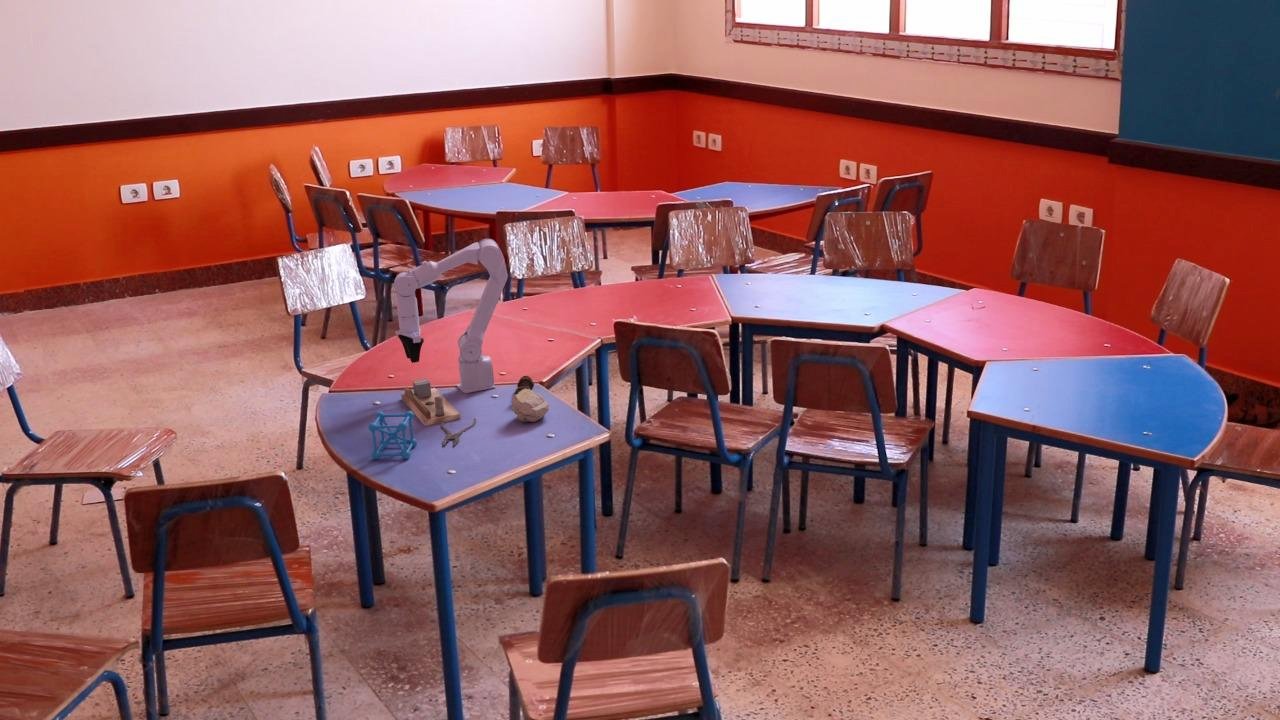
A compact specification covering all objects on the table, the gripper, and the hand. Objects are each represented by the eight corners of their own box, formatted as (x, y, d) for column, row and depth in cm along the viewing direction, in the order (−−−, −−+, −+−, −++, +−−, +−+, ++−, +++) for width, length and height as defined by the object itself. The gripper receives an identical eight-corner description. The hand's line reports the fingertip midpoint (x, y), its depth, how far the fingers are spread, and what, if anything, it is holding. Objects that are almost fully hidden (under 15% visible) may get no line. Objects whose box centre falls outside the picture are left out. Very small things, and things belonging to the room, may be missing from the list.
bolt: (530, 392, 360) (527, 409, 346) (514, 384, 360) (510, 401, 345) (538, 375, 359) (536, 391, 345) (523, 368, 358) (519, 384, 344)
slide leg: (427, 391, 353) (426, 378, 352) (431, 395, 350) (430, 382, 349) (413, 394, 352) (412, 380, 350) (417, 398, 348) (416, 384, 347)
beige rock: (550, 410, 341) (514, 415, 341) (545, 381, 339) (509, 387, 339) (551, 423, 330) (514, 428, 329) (546, 393, 327) (509, 399, 327)
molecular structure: (370, 461, 312) (366, 424, 309) (380, 445, 321) (376, 410, 318) (409, 460, 311) (405, 424, 308) (418, 445, 321) (414, 409, 318)
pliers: (475, 415, 338) (480, 442, 320) (476, 418, 338) (480, 445, 320) (440, 418, 337) (442, 446, 318) (440, 421, 337) (443, 449, 318)
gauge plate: (435, 392, 358) (433, 371, 356) (460, 418, 337) (458, 396, 335) (401, 398, 354) (399, 377, 352) (425, 425, 333) (422, 403, 331)
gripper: (387, 310, 354) (392, 355, 359) (401, 323, 342) (406, 369, 346) (411, 306, 357) (416, 351, 362) (425, 319, 345) (430, 365, 349)
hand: (413, 359), depth 354 cm, fingers open, 4 cm apart
